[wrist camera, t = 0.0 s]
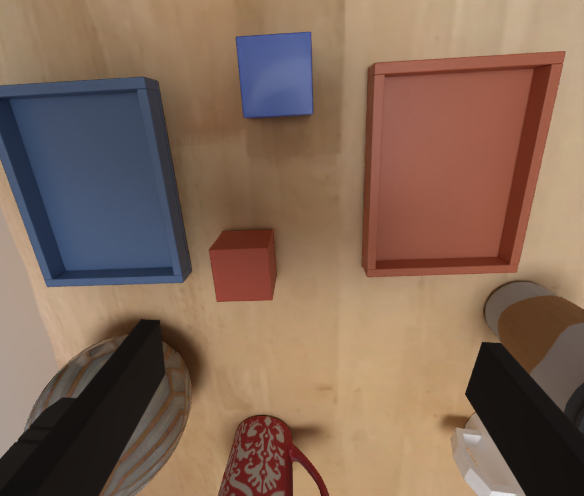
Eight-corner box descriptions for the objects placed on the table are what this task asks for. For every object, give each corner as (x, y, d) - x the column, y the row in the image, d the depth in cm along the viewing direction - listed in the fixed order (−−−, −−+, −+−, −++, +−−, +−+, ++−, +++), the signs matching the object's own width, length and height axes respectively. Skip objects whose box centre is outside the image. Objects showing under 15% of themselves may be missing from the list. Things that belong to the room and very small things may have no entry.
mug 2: (427, 449, 42) (465, 552, 32) (452, 388, 38) (505, 483, 28) (529, 463, 42) (599, 568, 32) (564, 404, 38) (656, 503, 28)
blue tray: (2, 90, 28) (-27, 87, 25) (158, 80, 27) (143, 76, 25) (64, 275, 34) (46, 287, 32) (192, 271, 33) (183, 283, 31)
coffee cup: (525, 348, 36) (670, 495, 22) (457, 326, 35) (561, 464, 21) (573, 285, 33) (777, 407, 19) (500, 259, 32) (655, 367, 18)
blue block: (247, 51, 26) (235, 36, 21) (309, 47, 26) (311, 31, 21) (253, 118, 28) (243, 117, 23) (311, 115, 28) (313, 114, 23)
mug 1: (240, 464, 44) (215, 603, 31) (218, 416, 41) (181, 548, 28) (332, 451, 42) (345, 590, 30) (317, 399, 39) (324, 530, 27)
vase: (202, 410, 40) (135, 605, 24) (97, 394, 40) (-45, 582, 24) (210, 322, 36) (132, 491, 19) (90, 303, 35) (-93, 459, 19)
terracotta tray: (368, 68, 26) (374, 62, 24) (541, 57, 26) (566, 50, 23) (362, 265, 33) (366, 277, 30) (500, 261, 32) (517, 272, 29)
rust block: (222, 231, 32) (208, 249, 27) (273, 229, 31) (268, 247, 27) (228, 277, 33) (216, 302, 29) (276, 275, 33) (272, 300, 29)
